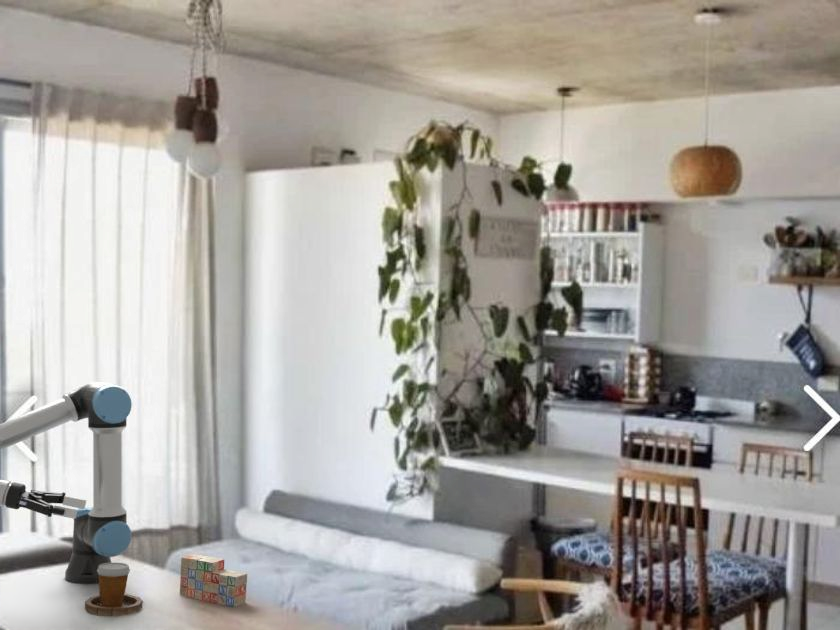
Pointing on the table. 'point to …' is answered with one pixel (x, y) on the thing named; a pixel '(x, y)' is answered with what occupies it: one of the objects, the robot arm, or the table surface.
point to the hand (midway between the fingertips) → (81, 509)
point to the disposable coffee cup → (112, 583)
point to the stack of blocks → (211, 581)
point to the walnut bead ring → (114, 611)
